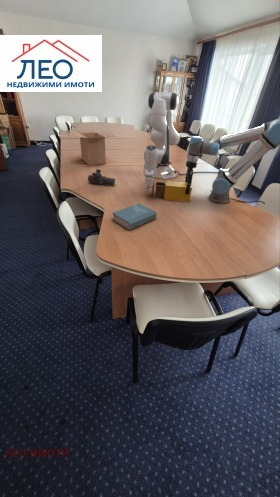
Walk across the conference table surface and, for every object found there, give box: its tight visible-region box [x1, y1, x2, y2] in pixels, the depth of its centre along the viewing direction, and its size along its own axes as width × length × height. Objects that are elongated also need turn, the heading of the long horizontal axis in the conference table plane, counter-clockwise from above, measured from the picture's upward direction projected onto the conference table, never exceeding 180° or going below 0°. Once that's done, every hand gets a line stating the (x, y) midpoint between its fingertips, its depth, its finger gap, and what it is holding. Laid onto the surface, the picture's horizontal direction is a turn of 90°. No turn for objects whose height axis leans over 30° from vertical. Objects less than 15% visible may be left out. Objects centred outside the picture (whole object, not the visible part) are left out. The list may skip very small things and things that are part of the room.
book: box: [112, 202, 158, 231], centre depth 138 cm, size 23×16×5 cm
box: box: [70, 129, 114, 166], centre depth 229 cm, size 44×36×27 cm
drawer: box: [144, 180, 165, 198], centre depth 169 cm, size 24×10×9 cm, turn 86°
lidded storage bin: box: [163, 180, 193, 203], centre depth 168 cm, size 19×11×11 cm, turn 86°
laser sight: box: [87, 168, 116, 186], centre depth 182 cm, size 10×22×10 cm, turn 78°
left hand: (148, 188), depth 169 cm, fingers closed
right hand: (186, 191), depth 168 cm, fingers closed on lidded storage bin, 11 cm apart
